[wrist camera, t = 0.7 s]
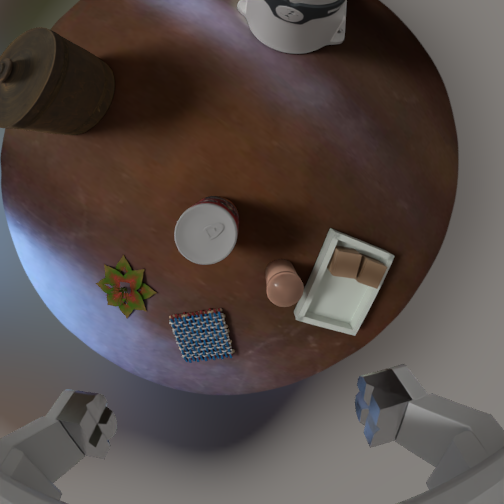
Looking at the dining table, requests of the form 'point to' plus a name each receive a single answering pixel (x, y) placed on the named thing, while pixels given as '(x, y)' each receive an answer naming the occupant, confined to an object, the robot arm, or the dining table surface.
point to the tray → (339, 288)
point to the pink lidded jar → (283, 283)
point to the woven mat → (202, 334)
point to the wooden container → (52, 85)
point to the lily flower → (115, 295)
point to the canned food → (207, 230)
